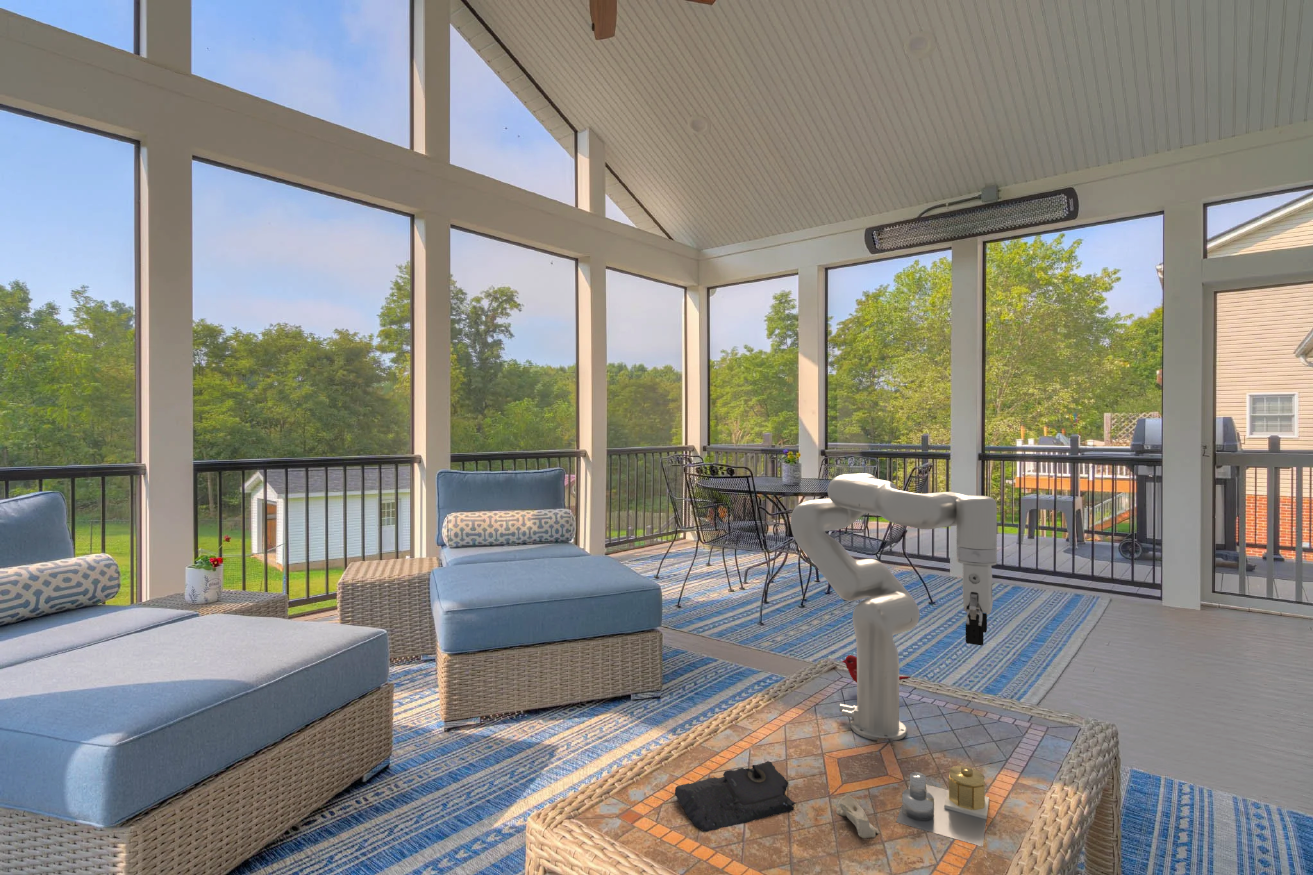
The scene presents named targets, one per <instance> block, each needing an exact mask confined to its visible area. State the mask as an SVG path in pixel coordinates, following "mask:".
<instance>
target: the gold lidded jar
mask: <svg viewBox="0 0 1313 875" xmlns="http://www.w3.org/2000/svg"><path fill="white" fill-rule="evenodd" d="M948 775H949V776H948V789H949V800H950V801H952V802H953V803H954V804H956V805H957V806H959V807H962V808H966V809H970V810H972V809H973V810H978V809H983V808H984V807H985V796H986V778H985V775H984V774H983V773H982V772H981V771H979V770H978V769H976V768H973V767H969V766H966V765H965V766H964V765H955V766H952V767H950V768H949V773H948Z"/></svg>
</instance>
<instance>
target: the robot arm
mask: <svg viewBox="0 0 1313 875" xmlns="http://www.w3.org/2000/svg"><path fill="white" fill-rule="evenodd" d="M827 496H828V498H826V497H825V498H817V499H810V500H806V501H805V500H804V501H803V502H800V503H799V504H797V505H796V506H795V507H794V509H793V510H792V512H791V516H790V529H791V533H792V536H793V539H794V541H795V542H796V544H797V545H798V546H799V548H800V549H801V550H802V551H803V553H804V554H805V556H807V557H808V558H809V559H810V560H811V562H812V563H814V565H815V566H816V568H817V569H818V571H819V572H820V573H821V575H822V576H823V577H824V579H825V580H826V581H827V582H828V584H829V586H831V588H832V589H833V590H834V591H835V593H836V594H837V596H838V597H840V598H841V599H842V600H844V601H847V602H853V601H858V600H859V601H860V600H861V601H860V602H859V603H858V604H857V605H856V606H855V607H854V609H853V611H852V625H853V629H854V630H853V631H854V634H855V641H856V657H857V683H856V705H855V704H854V705H849V704H843V703H840V704H839V712H841V715H842V716H843V717H849V718H851V720H850V728H851V730H852V731H853V732H854V733H856V734H857V735H858V736H860V737H863V738H865V739H868V740H872V741H878V740H879V739H888V740H892V741H899V740H901V739H904V738H905V737H906V735H907V726H906V725H905V724H904V723H903V722H902V721H900V680H899V676H900V659H899V658H900V657H899V656H900V655H899V651H898V648H897V646H896V644H895V640H894V636H895V635H899V634H901V633H905V632H908V631H911V630H913V628H916V626H917V625H918V623H919V620H920V609H919V606H918V604H917V602H916V601H915V599H914V597H913V596H912V595H911V594H910V593H909V591H908V590H907V589H906V587H904V585H903V584H902V583H901V582H900V581H899V579H898V578H897V577H896V576H895V575H894V574H893V573H892V571H891V570H890V569H889V567H888V566H887V565H885V564H884V563H882V562H881V561H880V560H877V559H875V558H862V559H855V558H854V557H853V556H852V555H850V554H849V552H848V551H847V550H846V548H845V547H844V546H843V545H842V544H841V543H840V542H839V541H838V540H837V539H835V538H834V537H832V536H830V535H829V534H827V533H826V532H830V531H835V530H842V529H845V528H847V527H849V526H851V525H852V524H853V523H855V522H856V521H857V520H858V519H860V518H861V517H862V516H864V515H865V514H869V515H874V516H879V517H882V518H883V520H886V521H888V522H889V523H892V524H898V525H900V526H905V527H910V528H913V529H920V530H935V529H940V528H949V527H956V562H957V563H960V564H962V602H963V603H962V604H963V610H964V611H965V613H966V622H965V643H966V644H969V645H975V646H981V647H982V646H983V645H984V633H987V632H988V615H990V614H991V612H992V609H993V606H994V605H993V569H992V566H996V565H997V564H998V560H997V559H998V558H997V557H998V556H997V555H998V552H997V551H998V549H997V547H998V546H997V545H998V542H997V541H998V540H997V539H998V538H997V537H998V536H997V535H998V532H997V531H998V528H997V526H998V521H997V520H998V519H997V518H998V512H997V509H998V508H997V501H996V500H995V499H994V498H993V497H992V496H991V497H990V496H987V495H978V494H977V495H973V494H971V495H969V494H968V495H967V494H962V493H959V492H958V493H957V492H955V491H942V492H941V491H939V492H930V493H929V492H927V493H918V492H917V493H916V492H912V491H911V492H909V491H905V490H899V489H897V486H896V484H894V483H893V482H892V481H890V480H886V479H885V480H884V479H881V478H880V479H878V478H877V477H876V476H874V475H873V474H871V473H867V472H862V473H861V472H859V473H857V472H856V473H844V474H839V475H837V476H835V477H834V478H832V480H831V481H830V482H829V484H828V485H827Z"/></svg>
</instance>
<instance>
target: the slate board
mask: <svg viewBox="0 0 1313 875" xmlns="http://www.w3.org/2000/svg"><path fill="white" fill-rule="evenodd" d="M907 789H910V784H908V788H907ZM926 792H928V793H930V794H931V795H932V796H933V798H934V818H933V819H932V820H930V821H917V820H913V819H911V818H909V817H907V816H906V815H905V814H904V813H903V810H902V805H901V807H900V809H899V813H898V816H897V818H896V821H895V823H898V824H901V825H906V826H909V827H912V828H914V829H918V830H921V831H925V832H929V833H933V834H936V835H939V836H943V837H947V838H949V839H954V840H956V841H961V842H964V843H967V844H971V845H975V846H978V847H981V848H982V847H983V846H984V839H985V833H986V832H985V831H986V825H987V819H984V818H980V817H976V816H972V815H969V814H965V813H961V812H957V811H954V810H950V809H946V808H944V805H945V801H946V797H947V793H948V789H946V788H941V787H937V786H933V785H930V784H926Z"/></svg>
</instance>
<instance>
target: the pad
mask: <svg viewBox="0 0 1313 875" xmlns="http://www.w3.org/2000/svg"><path fill="white" fill-rule="evenodd" d="M947 790H948V793H947V797H946V801H945V805H944V808H946V809H950V810H954V811H957V812H961V813H965V814H969V815H972V816H976V817H980V818H984V819H986V820H987V818H988V813H989V803H990V797H989V796H986V795H985V807H984V808H983V809H978V810H973V809H972V810H970V809H966V808H962V807H959V806H957V805H956V804H954V803H953V802H952V801H950V800H949V788H948V789H947Z"/></svg>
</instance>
